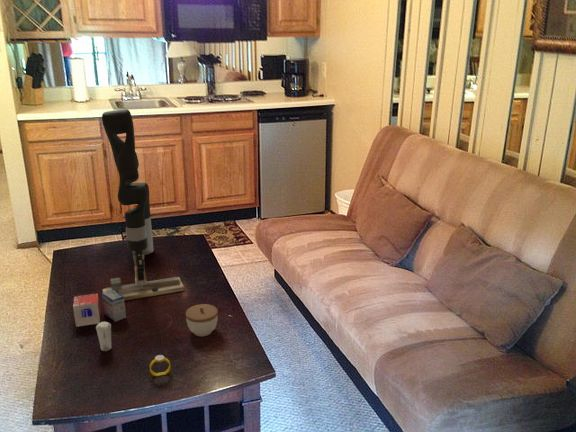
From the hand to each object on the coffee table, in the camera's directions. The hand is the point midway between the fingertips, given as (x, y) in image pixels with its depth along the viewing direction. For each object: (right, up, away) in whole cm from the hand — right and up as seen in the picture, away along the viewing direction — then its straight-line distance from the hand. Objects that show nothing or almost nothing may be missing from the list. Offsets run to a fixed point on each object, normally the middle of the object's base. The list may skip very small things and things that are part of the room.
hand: (140, 277), depth 203 cm
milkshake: (-1, -19, -36) cm, 40 cm away
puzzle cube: (-13, -13, -18) cm, 26 cm away
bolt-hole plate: (+1, -6, +2) cm, 6 cm away
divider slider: (0, -4, +1) cm, 4 cm away
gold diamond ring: (+20, -23, -49) cm, 57 cm away
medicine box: (-5, -12, -16) cm, 21 cm away
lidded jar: (+29, -16, -26) cm, 42 cm away
